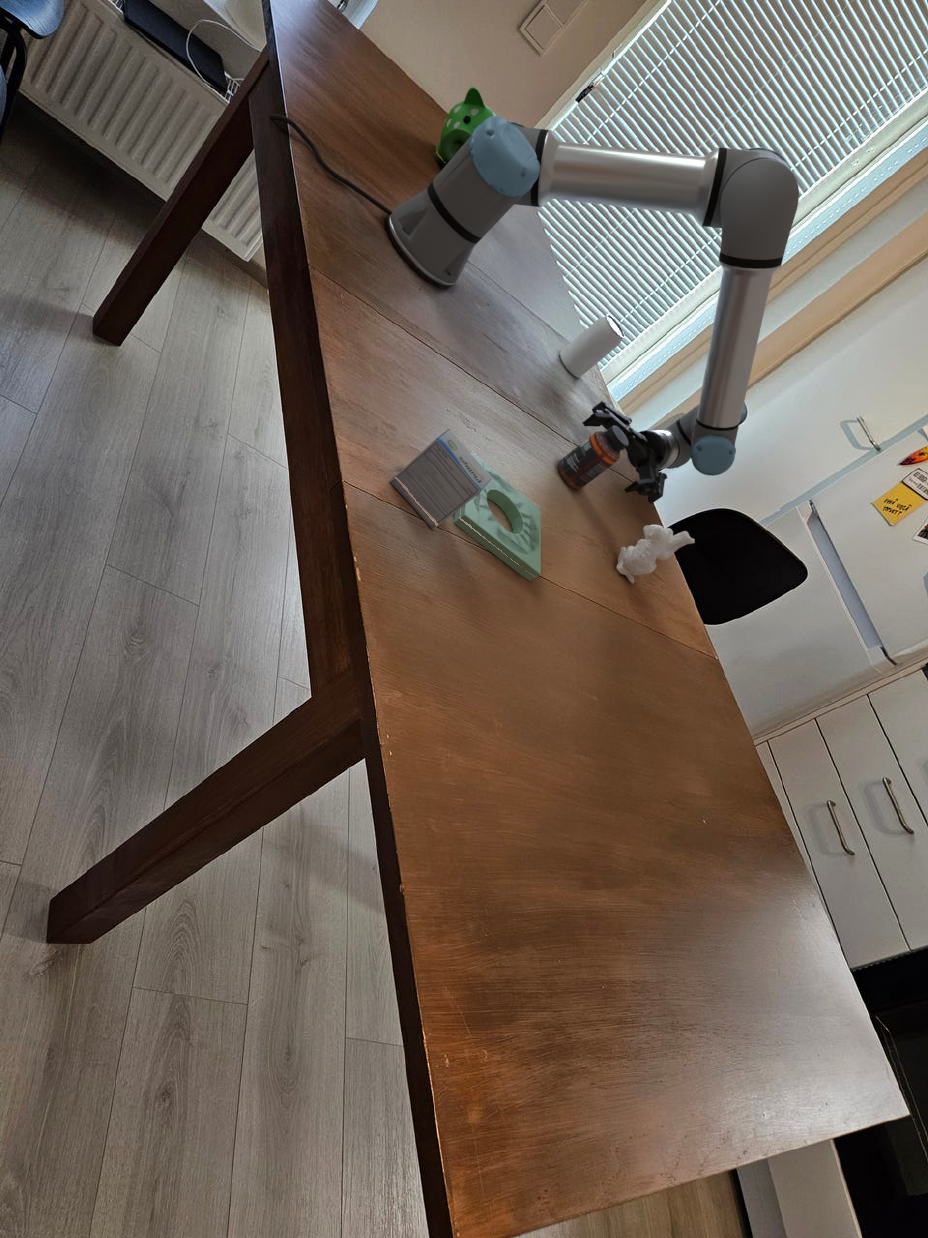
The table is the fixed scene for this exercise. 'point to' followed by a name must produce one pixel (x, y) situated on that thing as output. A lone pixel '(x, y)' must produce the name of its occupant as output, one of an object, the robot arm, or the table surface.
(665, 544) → the koala figurine
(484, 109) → the piggy bank
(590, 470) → the supplement bottle
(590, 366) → the can
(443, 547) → the table surface
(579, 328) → the table surface
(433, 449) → the medicine box
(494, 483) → the socket pad
